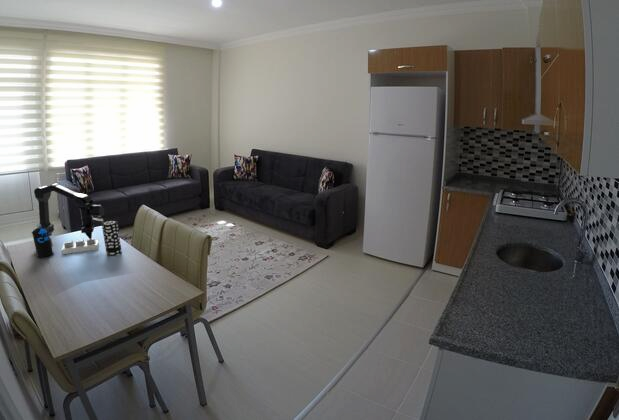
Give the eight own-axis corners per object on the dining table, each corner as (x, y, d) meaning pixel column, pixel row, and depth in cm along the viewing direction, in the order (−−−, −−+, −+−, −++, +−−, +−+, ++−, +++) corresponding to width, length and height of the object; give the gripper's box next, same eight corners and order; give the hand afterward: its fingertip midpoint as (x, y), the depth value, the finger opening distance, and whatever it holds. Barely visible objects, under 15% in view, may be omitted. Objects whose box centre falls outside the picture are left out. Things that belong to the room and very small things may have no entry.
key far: (87, 245, 227) (86, 240, 226) (88, 242, 231) (87, 238, 230) (94, 244, 229) (94, 239, 228) (95, 241, 232) (94, 237, 231)
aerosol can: (33, 257, 215) (26, 225, 210) (47, 252, 223) (41, 221, 217) (43, 259, 213) (36, 227, 207) (56, 254, 220) (50, 223, 214)
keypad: (62, 254, 220) (61, 249, 219) (64, 248, 228) (63, 244, 227) (97, 249, 228) (97, 244, 227) (98, 244, 236) (98, 239, 235)
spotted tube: (111, 257, 217) (106, 226, 211) (103, 254, 221) (98, 223, 215) (124, 252, 224) (120, 222, 218) (116, 249, 228) (112, 219, 222)
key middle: (76, 246, 225) (75, 242, 224) (77, 244, 228) (76, 239, 227) (83, 245, 226) (83, 241, 225) (84, 243, 230) (83, 239, 229)
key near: (65, 248, 222) (64, 243, 221) (65, 245, 226) (65, 241, 225) (72, 247, 224) (71, 242, 223) (73, 244, 227) (72, 240, 226)
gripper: (100, 218, 220) (104, 241, 224) (102, 209, 236) (105, 232, 240) (79, 220, 215) (83, 244, 219) (82, 211, 231) (86, 234, 235)
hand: (90, 238), depth 229 cm, fingers closed
